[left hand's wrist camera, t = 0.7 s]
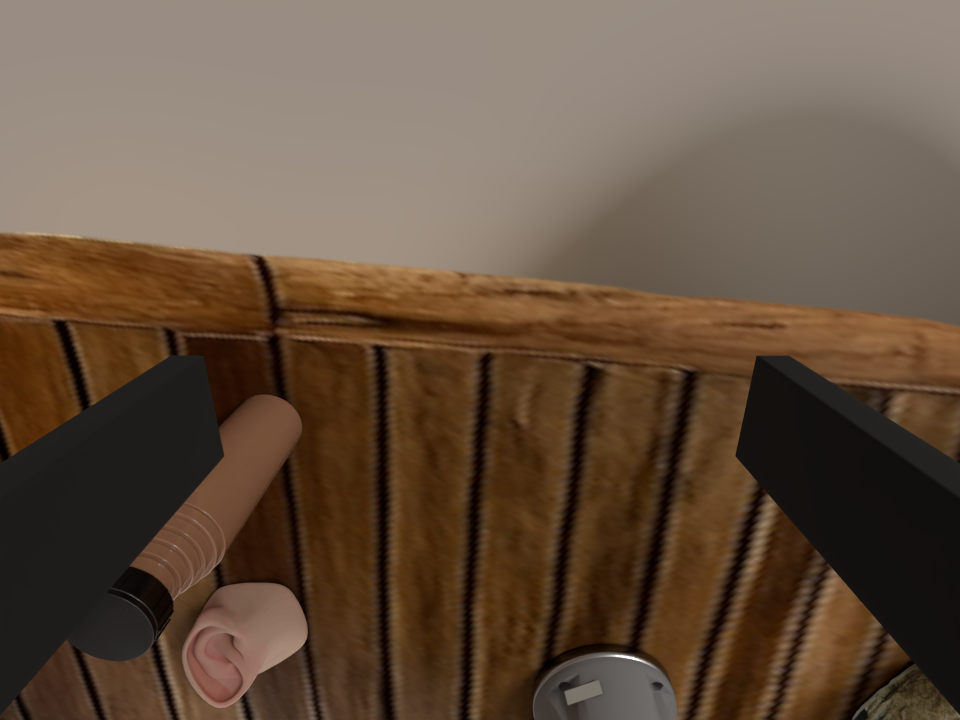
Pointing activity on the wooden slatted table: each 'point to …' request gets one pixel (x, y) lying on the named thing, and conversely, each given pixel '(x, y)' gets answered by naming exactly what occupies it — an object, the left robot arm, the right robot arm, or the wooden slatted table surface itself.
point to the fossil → (907, 700)
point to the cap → (125, 618)
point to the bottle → (224, 494)
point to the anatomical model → (241, 639)
